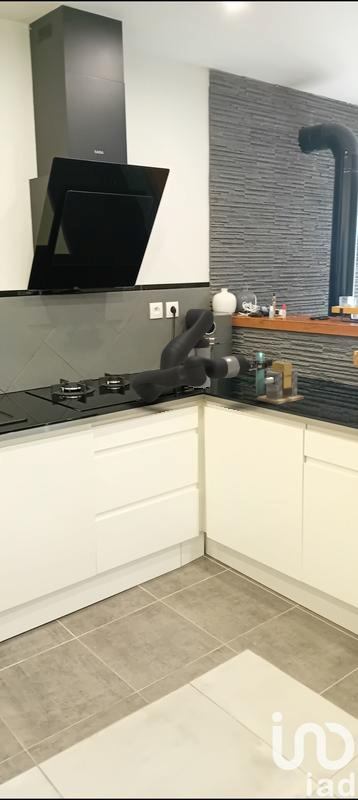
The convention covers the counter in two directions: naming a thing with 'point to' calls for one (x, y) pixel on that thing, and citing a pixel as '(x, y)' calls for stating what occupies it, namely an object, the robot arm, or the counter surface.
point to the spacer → (283, 372)
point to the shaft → (262, 376)
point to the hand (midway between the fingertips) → (266, 362)
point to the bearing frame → (280, 389)
